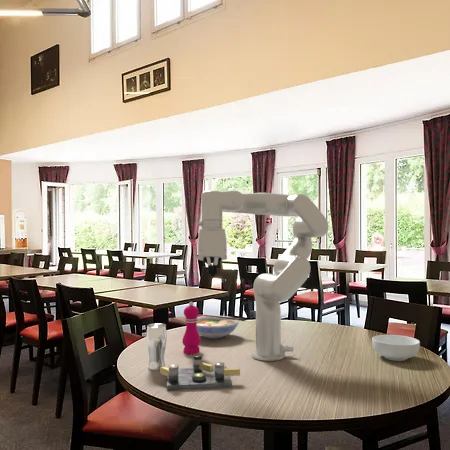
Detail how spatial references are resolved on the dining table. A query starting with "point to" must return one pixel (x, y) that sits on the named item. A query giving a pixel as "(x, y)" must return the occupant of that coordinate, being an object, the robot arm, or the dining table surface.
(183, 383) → the base plate
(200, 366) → the tan lever handle
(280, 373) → the dining table surface
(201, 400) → the dining table surface
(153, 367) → the beer glass
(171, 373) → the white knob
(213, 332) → the ramen bowl
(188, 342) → the pepper mill
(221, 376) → the grey knob
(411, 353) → the cereal bowl
